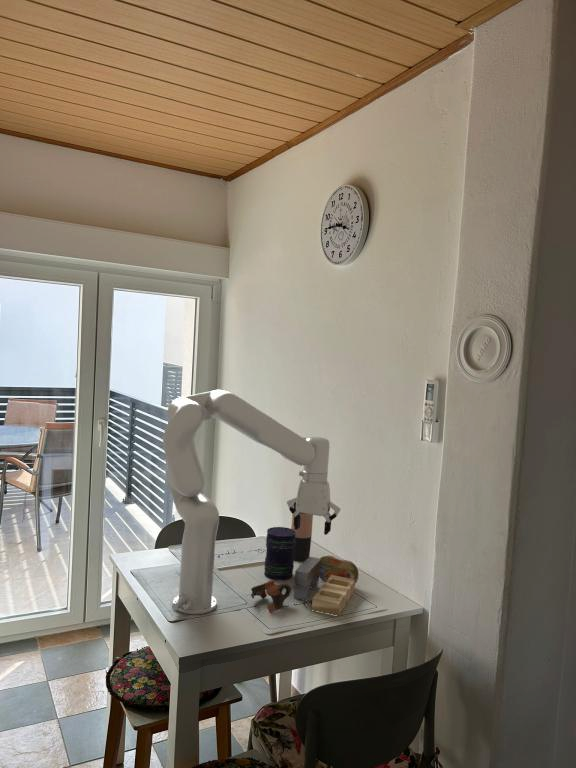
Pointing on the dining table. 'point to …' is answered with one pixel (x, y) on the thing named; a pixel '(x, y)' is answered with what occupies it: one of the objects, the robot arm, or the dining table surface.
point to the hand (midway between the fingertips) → (311, 531)
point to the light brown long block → (333, 595)
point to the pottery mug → (272, 594)
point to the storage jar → (279, 553)
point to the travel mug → (302, 536)
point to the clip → (307, 577)
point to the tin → (337, 568)
